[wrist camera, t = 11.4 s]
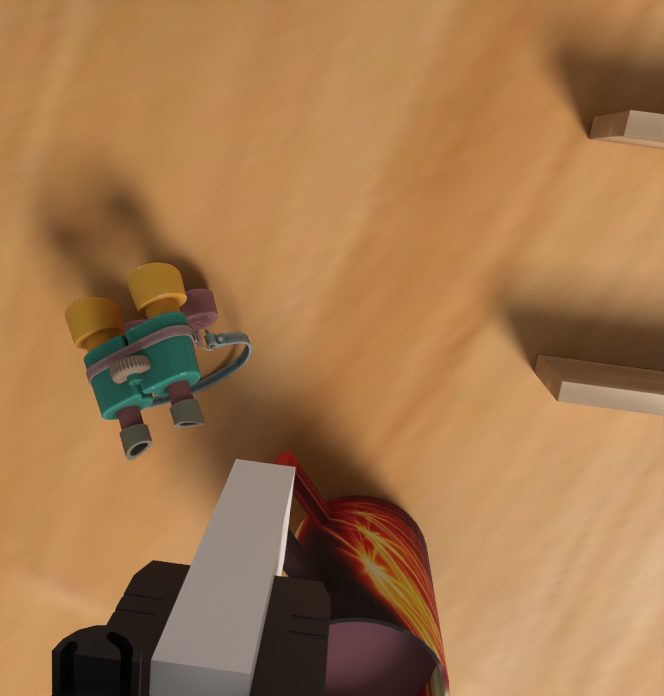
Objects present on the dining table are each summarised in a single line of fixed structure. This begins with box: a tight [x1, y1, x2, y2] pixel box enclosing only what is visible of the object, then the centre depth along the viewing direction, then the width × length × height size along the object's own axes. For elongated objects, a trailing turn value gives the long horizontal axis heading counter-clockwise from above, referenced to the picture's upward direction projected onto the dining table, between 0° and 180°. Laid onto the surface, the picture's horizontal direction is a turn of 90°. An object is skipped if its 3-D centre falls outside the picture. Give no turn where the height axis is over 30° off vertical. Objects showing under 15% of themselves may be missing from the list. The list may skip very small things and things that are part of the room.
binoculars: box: [65, 262, 252, 461], centre depth 36 cm, size 9×9×10 cm
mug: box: [276, 450, 450, 696], centre depth 38 cm, size 10×14×12 cm
